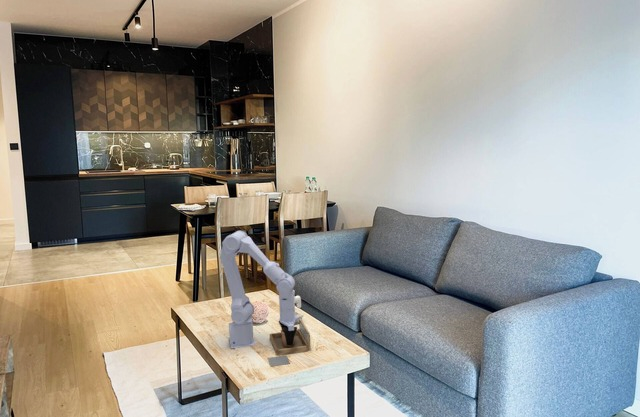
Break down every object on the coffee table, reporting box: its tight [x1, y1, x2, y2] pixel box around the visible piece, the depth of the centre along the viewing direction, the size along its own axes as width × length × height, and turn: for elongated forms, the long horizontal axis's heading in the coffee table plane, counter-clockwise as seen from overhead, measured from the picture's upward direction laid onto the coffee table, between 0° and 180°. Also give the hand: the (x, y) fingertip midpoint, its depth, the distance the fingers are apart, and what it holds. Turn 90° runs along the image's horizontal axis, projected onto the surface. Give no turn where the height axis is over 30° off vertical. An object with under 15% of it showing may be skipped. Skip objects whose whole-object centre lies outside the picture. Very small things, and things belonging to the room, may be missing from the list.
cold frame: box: [269, 328, 312, 356], centre depth 188 cm, size 13×16×6 cm
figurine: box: [294, 290, 304, 325], centre depth 210 cm, size 7×9×15 cm
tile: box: [267, 354, 291, 367], centre depth 175 cm, size 7×7×1 cm
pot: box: [280, 329, 294, 347], centre depth 188 cm, size 5×5×6 cm
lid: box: [298, 318, 311, 352], centre depth 190 cm, size 1×15×8 cm, turn 15°
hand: (288, 341), depth 188 cm, fingers closed on pot, 5 cm apart
